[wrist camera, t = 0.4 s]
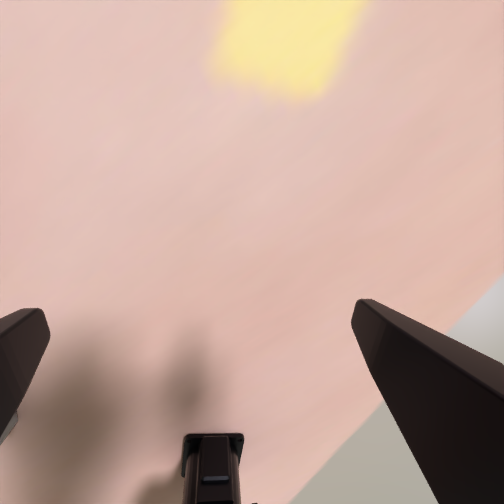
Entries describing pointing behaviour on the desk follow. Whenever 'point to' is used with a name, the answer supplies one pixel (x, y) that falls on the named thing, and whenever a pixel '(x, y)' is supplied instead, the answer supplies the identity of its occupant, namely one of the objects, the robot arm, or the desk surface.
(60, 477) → the desk surface
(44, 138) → the desk surface
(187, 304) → the desk surface
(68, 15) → the desk surface
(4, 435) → the tray
